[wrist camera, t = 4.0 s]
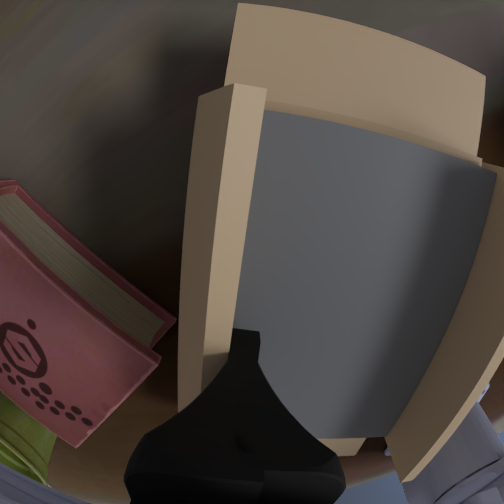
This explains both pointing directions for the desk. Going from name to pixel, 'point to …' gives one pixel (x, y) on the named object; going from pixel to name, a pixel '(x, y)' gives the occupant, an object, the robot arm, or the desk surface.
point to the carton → (355, 214)
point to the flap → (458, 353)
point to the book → (67, 323)
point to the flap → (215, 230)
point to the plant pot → (24, 441)
